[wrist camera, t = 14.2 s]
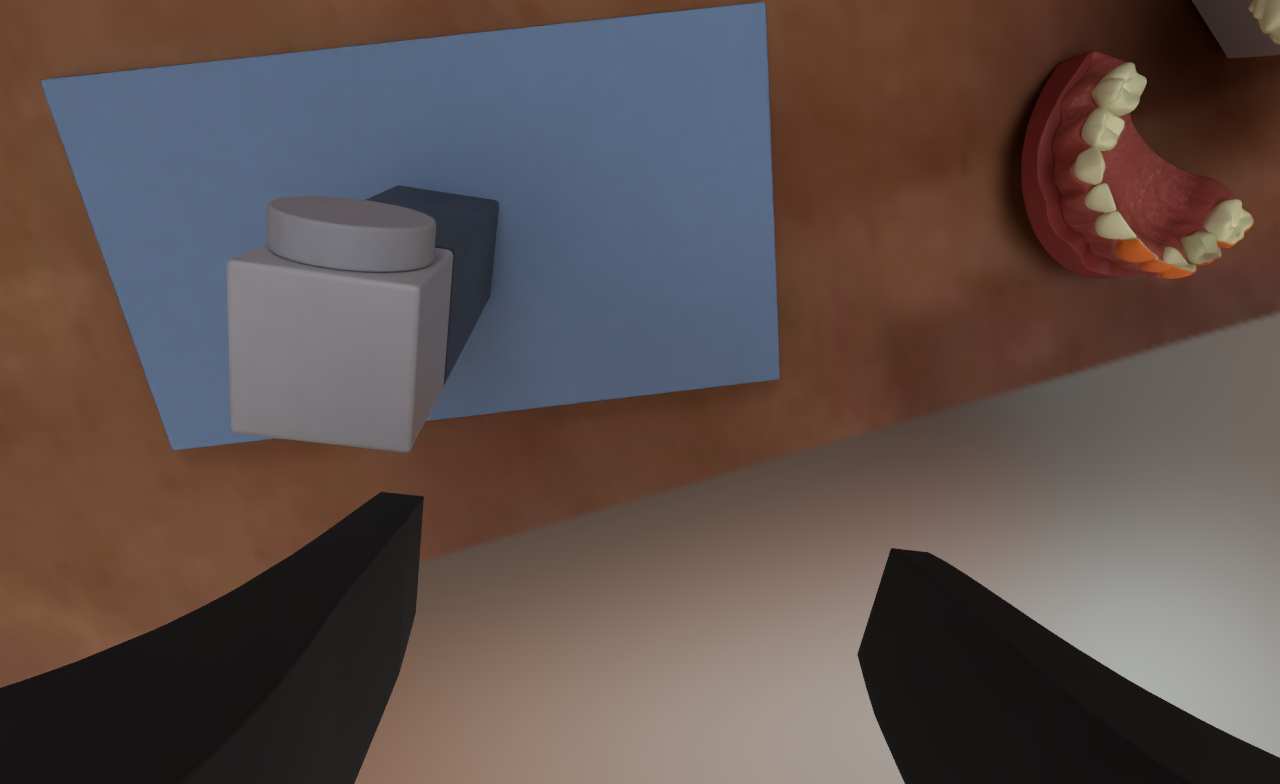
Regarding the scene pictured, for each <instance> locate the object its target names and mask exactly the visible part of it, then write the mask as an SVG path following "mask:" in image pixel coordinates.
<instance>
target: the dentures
mask: <svg viewBox="0 0 1280 784" xmlns="http://www.w3.org/2000/svg"><path fill="white" fill-rule="evenodd" d="M1249 11H1250V12H1252V13H1253V17H1254V18H1256V19H1258V22H1259V25H1260V28H1261V30H1262V32H1264V33H1270V34H1269V36H1270V38H1271V39H1272V40H1273V42H1275V43H1276V44H1279V45H1280V0H1253V1H1252V3H1251V4H1250V6H1249ZM1146 83H1147V80H1146V78H1145V77H1144V76H1142V75H1140V74H1138V73H1137V71H1136V69H1135V64H1134V63H1131V62H1128V63H1127V62H1125V61H1122V60H1120V59H1117V58H1114V57H1111V56H1109V55H1106V54H1103V53H1100V52H1097V51H1089V52H1086V53H1084V54H1082V55H1079V56H1077V57H1074V58H1072V59H1069V60H1067V61H1064V62H1062V63H1060V64H1059V65H1058V66H1057V67H1056V68H1055V70H1054V72H1053V73H1052V75H1051V76H1050V78H1049V80H1048V81H1047V83H1046V85H1045V86H1044V88H1043V90H1042V92H1041V94H1040V96H1039V98H1038V100H1037V102H1036V104H1035V107H1034V109H1033V112H1032V115H1031V117H1030V120H1029V123H1028V127H1027V131H1026V136H1025V140H1024V145H1023V151H1022V158H1021V160H1022V170H1021V182H1022V194H1023V198H1024V203H1025V208H1026V212H1027V215H1028V218H1029V220H1030V223H1031V226H1032V229H1033V231H1034V233H1035V235H1036V236H1037V238H1038V240H1039V241H1040V243H1041V244H1042V246H1043V247H1044V249H1045V250H1046V251H1047V253H1048V254H1049V255H1050V256H1051V257H1052V258H1053V259H1055V260H1056V261H1057V262H1058V263H1059V264H1061V265H1062V266H1063V267H1065V268H1066V269H1068V270H1070V271H1072V272H1075V273H1077V274H1080V275H1082V276H1085V277H1093V278H1112V277H1124V276H1130V275H1135V274H1139V273H1141V274H1144V275H1146V276H1149V277H1153V278H1167V279H1177V278H1182V277H1185V276H1188V275H1191V274H1193V273H1195V272H1196V267H1200V266H1204V265H1208V264H1210V263H1212V262H1213V261H1215V260H1217V259H1219V258H1221V257H1222V254H1221V249H1220V248H1228V247H1232V246H1234V245H1235V244H1236V243H1237V242H1239V241H1240V240H1242V239H1243V237H1244V233H1245V232H1246V231H1248V230H1249V229H1250V228H1251V227H1252V226H1253V224H1254V220H1253V218H1252V216H1251V214H1250V213H1248V212H1247V211H1245V210H1243V209H1242V202H1241V201H1240V200H1238V199H1234V198H1233V195H1232V193H1231V192H1230V191H1229V190H1228V189H1227V188H1225V187H1224V186H1223V185H1222V184H1221V183H1219V182H1218V181H1216V180H1214V179H1211V178H1207V177H1202V176H1199V175H1195V174H1192V173H1189V172H1187V171H1185V170H1182V169H1180V168H1178V167H1176V166H1174V165H1172V164H1171V163H1169V162H1167V161H1166V160H1164V159H1163V158H1161V157H1160V156H1159V155H1157V154H1156V153H1155V152H1154V151H1153V150H1152V149H1151V148H1150V147H1149V146H1148V145H1147V144H1146V143H1145V141H1144V140H1143V139H1142V138H1141V136H1140V135H1139V133H1138V132H1137V130H1136V128H1135V127H1134V124H1133V122H1132V119H1131V115H1130V112H1132V111H1133V110H1134V109H1135V108H1136V107H1137V105H1138V104H1139V101H1140V96H1141V94H1142V92H1143V90H1144V88H1145V86H1146Z"/></svg>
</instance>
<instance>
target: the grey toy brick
mask: <svg viewBox="0 0 1280 784" xmlns="http://www.w3.org/2000/svg"><path fill="white" fill-rule="evenodd" d="M498 209H499V202H498V201H496V200H491V199H484V198H478V197H471V196H465V195H458V194H452V193H445V192H439V191H432V190H426V189H419V188H413V187H406V186H400V185H398V186H395V187H393V188H391V189H388V190H386V191H384V192H381V193H379V194H377V195H375V196H372V197H370V198H368V199H366V200H359V199H349V198H338V197H320V196H297V197H285V198H279V199H275V200H272V201H270V202H269V203H268V204H267V207H266V222H267V243H266V244H264V245H261V246H259V247H257V248H255V249H252V250H250V251H248V252H245V253H243V254H241V255H239V256H236V257H234V258H232V259H230V260H228V262H227V265H226V268H227V304H228V340H229V377H230V413H231V430H232V432H234V433H238V434H247V435H256V436H264V437H273V438H281V439H290V440H299V441H307V442H316V443H325V444H333V445H342V446H350V447H359V448H368V449H376V450H385V451H393V452H402V453H406V452H410V450H411V448H412V446H413V445H414V443H415V441H416V439H417V437H418V435H419V433H420V431H421V429H422V427H423V425H424V423H425V421H426V419H427V417H428V415H429V414H430V412H431V410H432V408H433V406H434V404H435V402H436V400H437V398H438V396H439V394H440V392H441V390H442V388H443V387H444V385H445V383H446V381H447V379H448V377H449V375H450V373H451V371H452V369H453V368H454V366H455V364H456V362H457V360H458V358H459V356H460V354H461V352H462V350H463V348H464V346H465V344H466V342H467V340H468V338H469V337H470V335H471V333H472V331H473V329H474V327H475V325H476V323H477V321H478V319H479V317H480V315H481V313H482V311H483V309H484V307H485V306H486V304H487V302H488V300H489V298H490V294H491V284H492V273H493V263H494V252H495V241H496V231H497V220H498Z"/></svg>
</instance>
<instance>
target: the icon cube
mask: <svg viewBox="0 0 1280 784" xmlns="http://www.w3.org/2000/svg"><path fill="white" fill-rule="evenodd" d="M1252 1H1253V0H1192V2H1193V3H1194V5H1195V7H1196V8H1197V10H1198V11H1199V13H1200V14H1201V16H1202V18H1203V19H1204V21H1205V22H1206V24H1207V26H1208V27H1209V29H1210V30H1211V32H1212V33H1213V35H1214V37H1215V38H1216V40H1217V41H1218V43H1219V45H1220V46H1221V48H1222V49H1223V51H1224V52H1225V54H1226V56H1227V57H1228V58H1243V57H1258V56H1274V55H1280V45H1279V44H1276V43H1275V42H1273V40H1272V39H1271V38H1270V36H1269V34H1270V33H1264V32H1262V30H1261V28H1260V25H1259V22H1258V19H1256V18H1254V17H1253V13H1252V12H1250V11H1249V6H1250V4H1251V3H1252Z"/></svg>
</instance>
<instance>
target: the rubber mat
mask: <svg viewBox="0 0 1280 784" xmlns="http://www.w3.org/2000/svg"><path fill="white" fill-rule="evenodd" d="M41 84H42V87H43V90H44V93H45V96H46V98H47V101H48V104H49V107H50V110H51V112H52V115H53V118H54V121H55V123H56V126H57V129H58V132H59V135H60V137H61V140H62V143H63V146H64V149H65V151H66V154H67V157H68V160H69V163H70V165H71V168H72V171H73V174H74V177H75V179H76V182H77V185H78V188H79V191H80V193H81V196H82V199H83V202H84V205H85V207H86V210H87V213H88V216H89V218H90V221H91V224H92V227H93V230H94V232H95V235H96V238H97V241H98V244H99V246H100V249H101V252H102V255H103V258H104V260H105V263H106V266H107V269H108V272H109V274H110V277H111V280H112V283H113V286H114V288H115V291H116V294H117V297H118V300H119V302H120V305H121V308H122V311H123V313H124V316H125V319H126V322H127V325H128V327H129V330H130V333H131V336H132V339H133V341H134V344H135V347H136V350H137V353H138V355H139V358H140V361H141V364H142V367H143V369H144V372H145V375H146V378H147V381H148V383H149V386H150V389H151V392H152V395H153V397H154V400H155V403H156V406H157V409H158V411H159V414H160V417H161V420H162V422H163V425H164V428H165V431H166V434H167V436H168V439H169V442H170V445H171V448H172V450H183V449H191V448H200V447H208V446H217V445H225V444H234V443H242V442H251V441H259V440H268V439H276V438H273V437H264V436H256V435H247V434H238V433H234V432H232V430H231V413H230V377H229V340H228V304H227V268H226V265H227V262H228V260H230V259H232V258H234V257H236V256H239V255H241V254H243V253H245V252H248V251H250V250H252V249H255V248H257V247H259V246H261V245H264V244H266V243H267V222H266V207H267V204H268V203H269V202H270V201H272V200H275V199H279V198H285V197H297V196H320V197H338V198H349V199H359V200H366V199H368V198H370V197H372V196H375V195H377V194H379V193H381V192H384V191H386V190H388V189H391V188H393V187H395V186H398V185H400V186H406V187H413V188H419V189H426V190H432V191H439V192H445V193H452V194H458V195H465V196H471V197H478V198H484V199H491V200H496V201H498V202H499V209H498V220H497V231H496V241H495V252H494V263H493V273H492V284H491V294H490V298H489V300H488V302H487V304H486V306H485V307H484V309H483V311H482V313H481V315H480V317H479V319H478V321H477V323H476V325H475V327H474V329H473V331H472V333H471V335H470V337H469V338H468V340H467V342H466V344H465V346H464V348H463V350H462V352H461V354H460V356H459V358H458V360H457V362H456V364H455V366H454V368H453V369H452V371H451V373H450V375H449V377H448V379H447V381H446V383H445V385H444V387H443V388H442V390H441V392H440V394H439V396H438V398H437V400H436V402H435V404H434V406H433V408H432V410H431V412H430V414H429V415H428V417H427V419H426V421H430V420H438V419H447V418H455V417H464V416H472V415H481V414H489V413H498V412H506V411H515V410H524V409H532V408H541V407H549V406H558V405H566V404H575V403H583V402H592V401H600V400H609V399H617V398H626V397H634V396H643V395H651V394H660V393H668V392H677V391H685V390H694V389H702V388H711V387H720V386H728V385H737V384H745V383H754V382H762V381H771V380H778V379H780V361H779V335H778V309H777V283H776V257H775V231H774V205H773V179H772V153H771V127H770V101H769V75H768V49H767V23H766V4H765V2H757V3H747V4H738V5H729V6H720V7H710V8H701V9H692V10H683V11H673V12H664V13H655V14H646V15H636V16H627V17H618V18H608V19H599V20H590V21H581V22H571V23H562V24H553V25H544V26H534V27H525V28H516V29H506V30H497V31H488V32H479V33H469V34H460V35H451V36H442V37H432V38H423V39H414V40H405V41H395V42H386V43H377V44H367V45H358V46H349V47H340V48H330V49H321V50H312V51H303V52H293V53H284V54H275V55H265V56H256V57H247V58H238V59H228V60H219V61H210V62H201V63H191V64H182V65H173V66H163V67H154V68H145V69H136V70H126V71H117V72H108V73H99V74H89V75H80V76H71V77H62V78H52V79H43V80H42V81H41Z"/></svg>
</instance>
